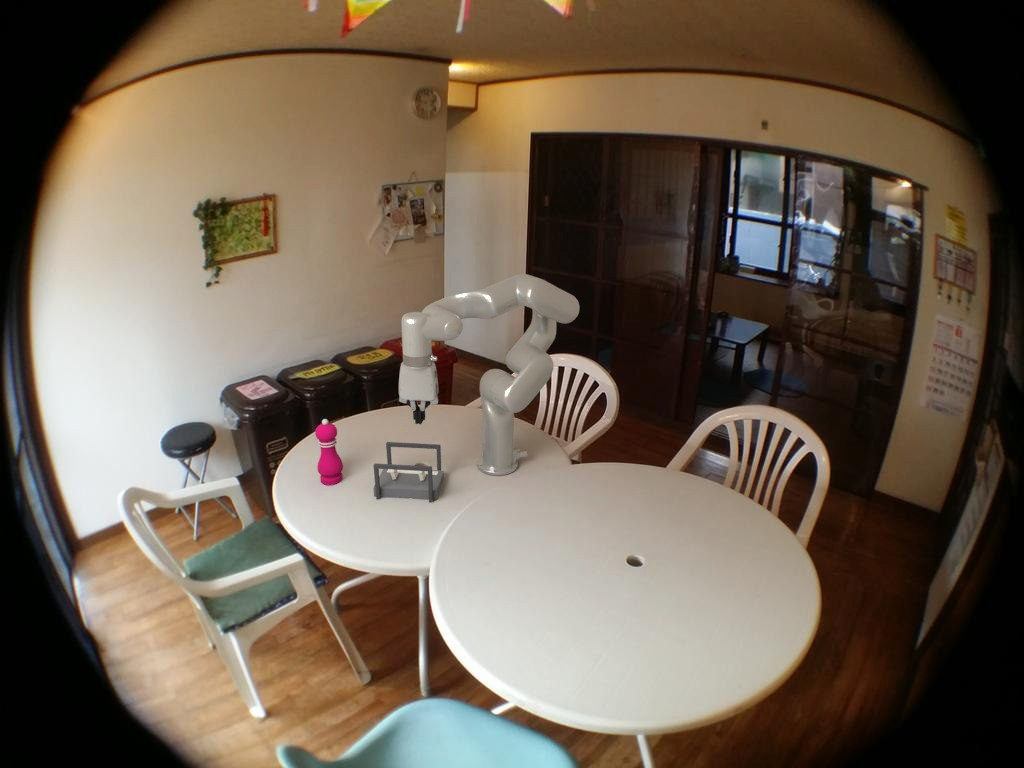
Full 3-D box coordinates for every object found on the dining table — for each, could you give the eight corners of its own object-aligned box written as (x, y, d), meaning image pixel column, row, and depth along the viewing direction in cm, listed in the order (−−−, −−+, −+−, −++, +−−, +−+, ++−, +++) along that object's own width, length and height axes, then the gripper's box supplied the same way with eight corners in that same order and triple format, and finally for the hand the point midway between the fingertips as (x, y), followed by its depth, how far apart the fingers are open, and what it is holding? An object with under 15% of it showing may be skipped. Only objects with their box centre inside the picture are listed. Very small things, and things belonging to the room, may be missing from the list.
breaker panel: (443, 479, 170) (443, 470, 169) (437, 500, 160) (436, 490, 159) (384, 476, 171) (384, 467, 170) (374, 496, 161) (373, 487, 160)
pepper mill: (348, 474, 171) (341, 414, 164) (338, 487, 165) (332, 425, 157) (325, 472, 172) (317, 413, 164) (314, 485, 165) (306, 424, 158)
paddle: (398, 473, 165) (396, 466, 164) (396, 478, 163) (393, 471, 162) (395, 474, 166) (392, 467, 165) (392, 479, 163) (390, 472, 162)
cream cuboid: (425, 475, 165) (423, 468, 164) (423, 480, 162) (421, 473, 162) (422, 475, 165) (420, 468, 164) (420, 480, 163) (418, 473, 162)
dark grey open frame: (441, 476, 171) (440, 444, 167) (432, 502, 159) (431, 468, 154) (389, 474, 172) (386, 441, 168) (376, 499, 159) (373, 465, 155)
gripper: (447, 356, 153) (448, 417, 160) (393, 353, 154) (396, 414, 161) (442, 365, 146) (443, 429, 153) (385, 362, 147) (389, 426, 154)
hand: (419, 421), depth 157 cm, fingers closed
